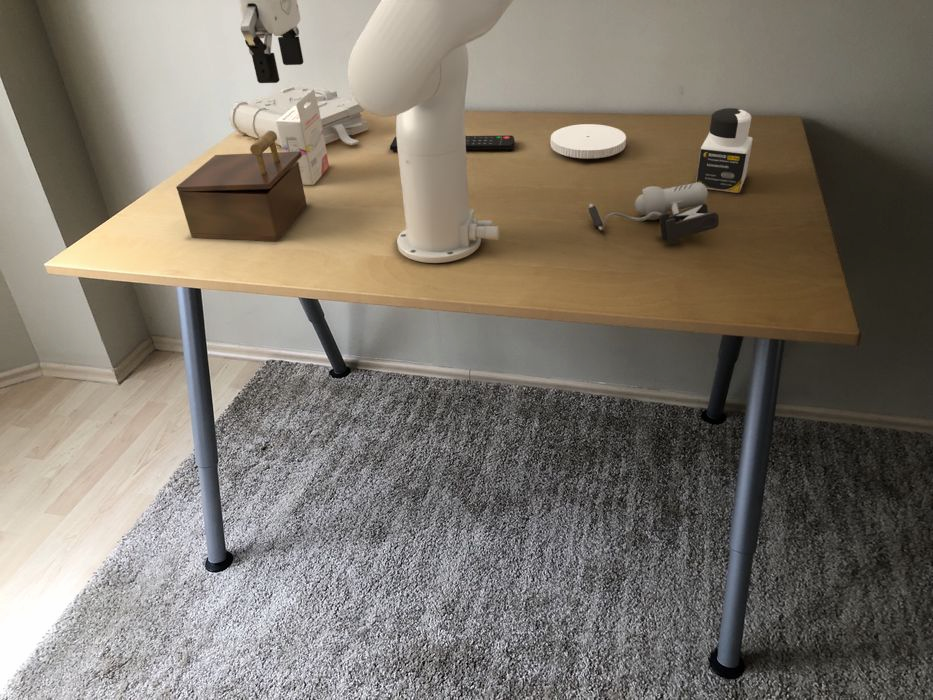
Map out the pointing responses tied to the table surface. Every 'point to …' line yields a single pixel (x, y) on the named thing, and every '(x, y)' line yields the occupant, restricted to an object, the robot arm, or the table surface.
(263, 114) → the book
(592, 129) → the plastic lid
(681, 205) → the clip-on lamp
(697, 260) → the table surface
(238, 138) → the table surface
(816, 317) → the table surface
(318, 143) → the ink cartridge box
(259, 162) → the lid
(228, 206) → the chest
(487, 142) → the remote control
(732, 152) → the medicine bottle
